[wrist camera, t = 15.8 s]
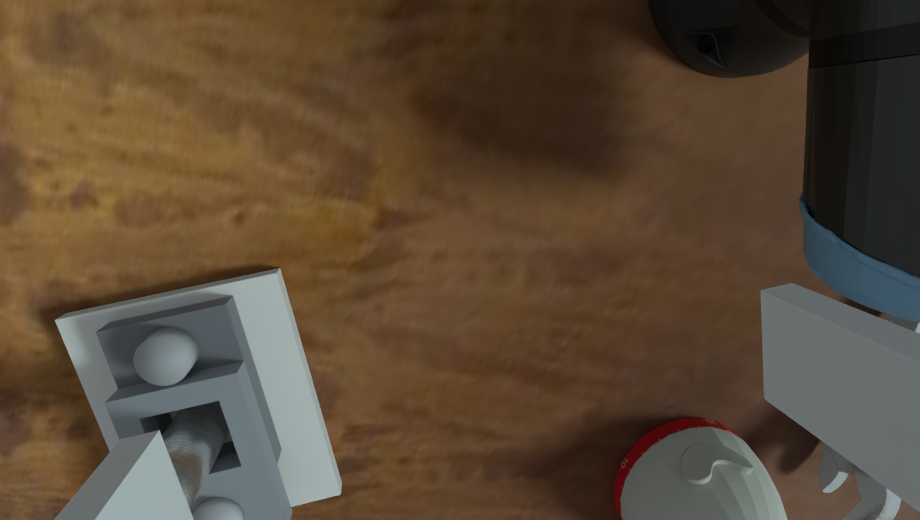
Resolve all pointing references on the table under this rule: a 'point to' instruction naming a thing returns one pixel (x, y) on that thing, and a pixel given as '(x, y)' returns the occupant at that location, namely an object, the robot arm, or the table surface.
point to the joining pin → (195, 445)
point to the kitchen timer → (694, 476)
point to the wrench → (862, 473)
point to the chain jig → (213, 387)
